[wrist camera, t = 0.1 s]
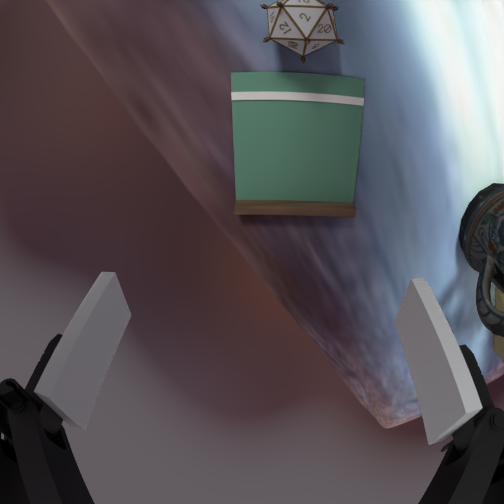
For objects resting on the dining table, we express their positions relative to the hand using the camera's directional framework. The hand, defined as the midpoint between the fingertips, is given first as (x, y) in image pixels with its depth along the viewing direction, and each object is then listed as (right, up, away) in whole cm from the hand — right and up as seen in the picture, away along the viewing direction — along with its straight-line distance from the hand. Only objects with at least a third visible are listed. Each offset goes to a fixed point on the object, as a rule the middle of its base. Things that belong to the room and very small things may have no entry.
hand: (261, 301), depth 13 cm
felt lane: (+5, +16, +22) cm, 28 cm away
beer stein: (+40, +6, +27) cm, 49 cm away
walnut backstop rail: (+6, +9, +27) cm, 29 cm away
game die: (+5, +28, +14) cm, 32 cm away
